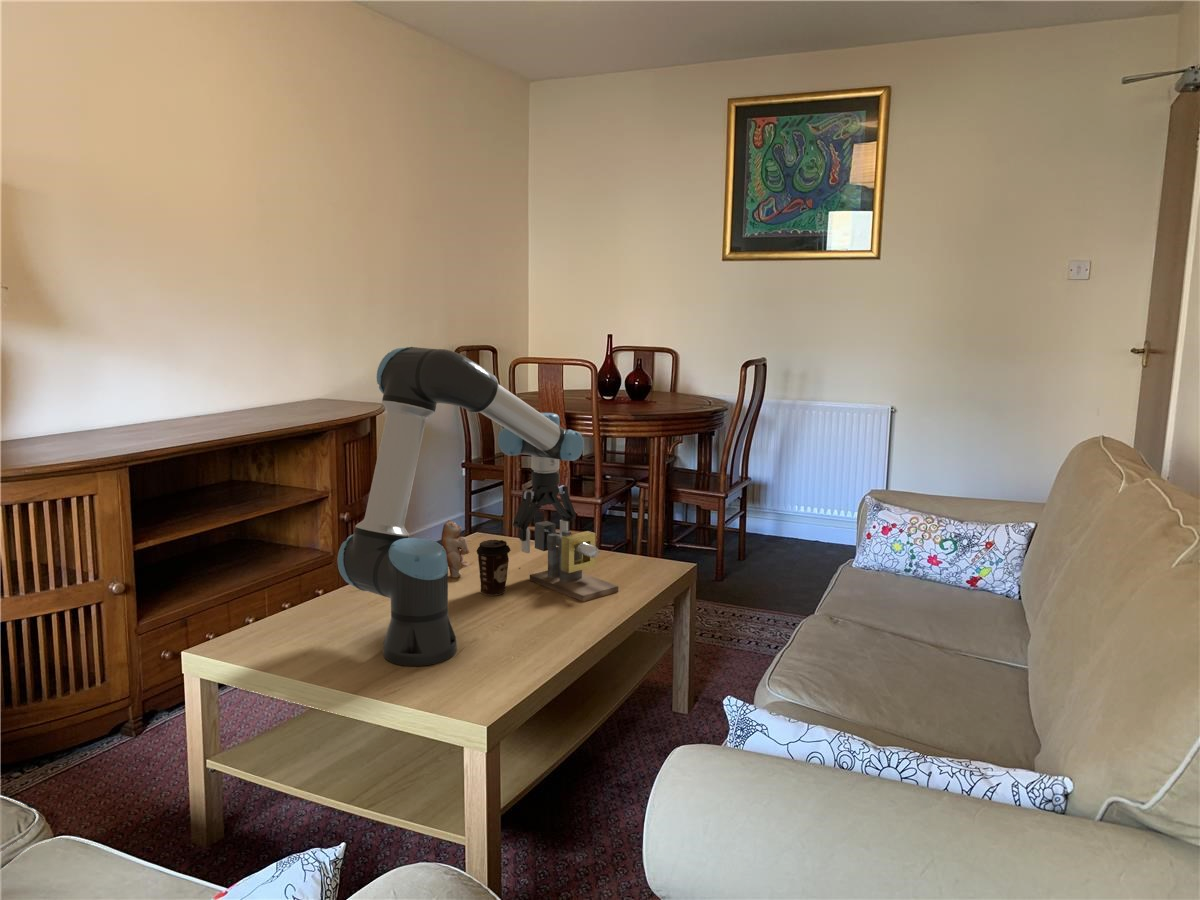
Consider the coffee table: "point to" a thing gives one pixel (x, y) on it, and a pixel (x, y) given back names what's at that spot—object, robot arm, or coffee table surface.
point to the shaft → (550, 528)
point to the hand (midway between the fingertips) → (545, 547)
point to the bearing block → (570, 576)
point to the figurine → (454, 548)
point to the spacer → (568, 552)
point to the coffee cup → (493, 566)
